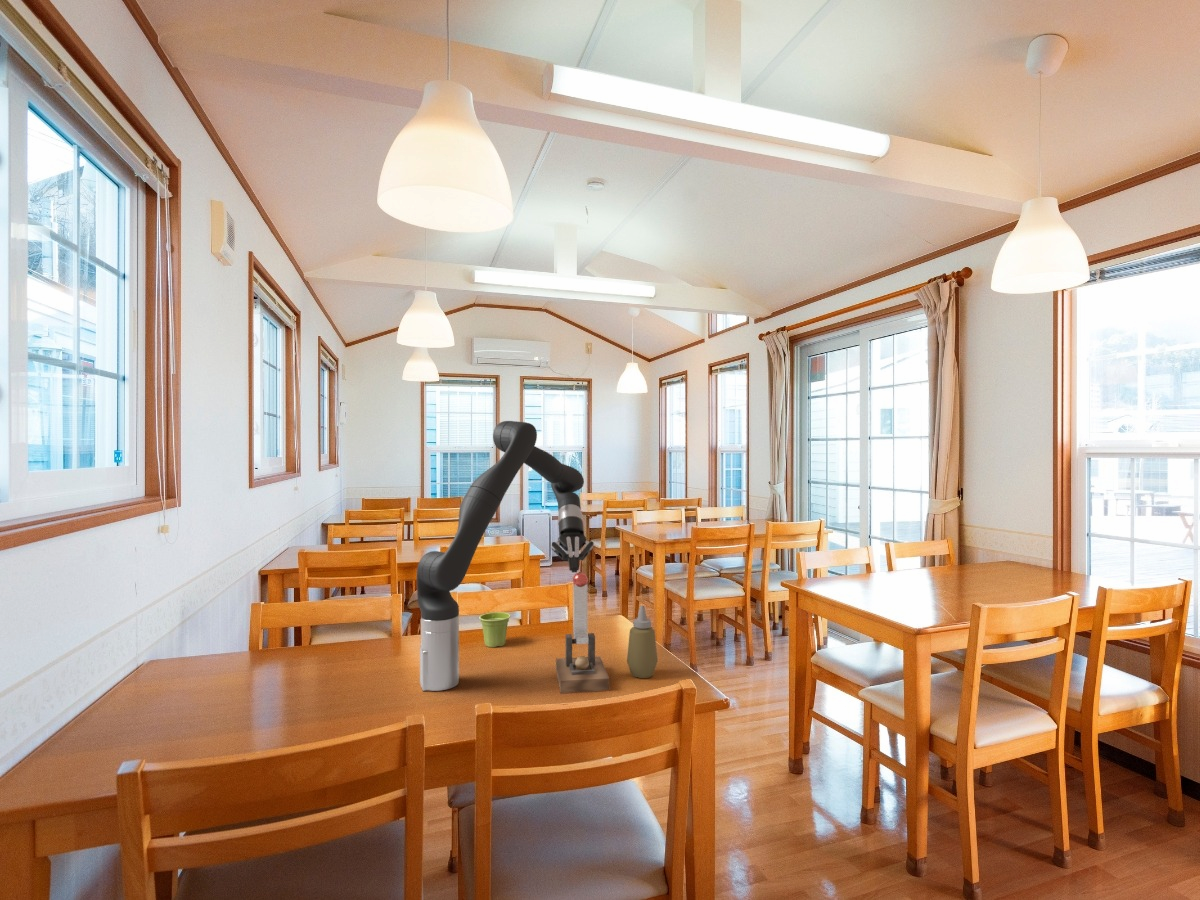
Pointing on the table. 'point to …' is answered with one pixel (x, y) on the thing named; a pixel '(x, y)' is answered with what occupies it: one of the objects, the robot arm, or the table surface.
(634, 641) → the squeeze bottle
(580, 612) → the lever
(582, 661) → the walnut
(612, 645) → the table surface
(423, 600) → the robot arm
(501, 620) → the plant pot
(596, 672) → the nutcracker base
